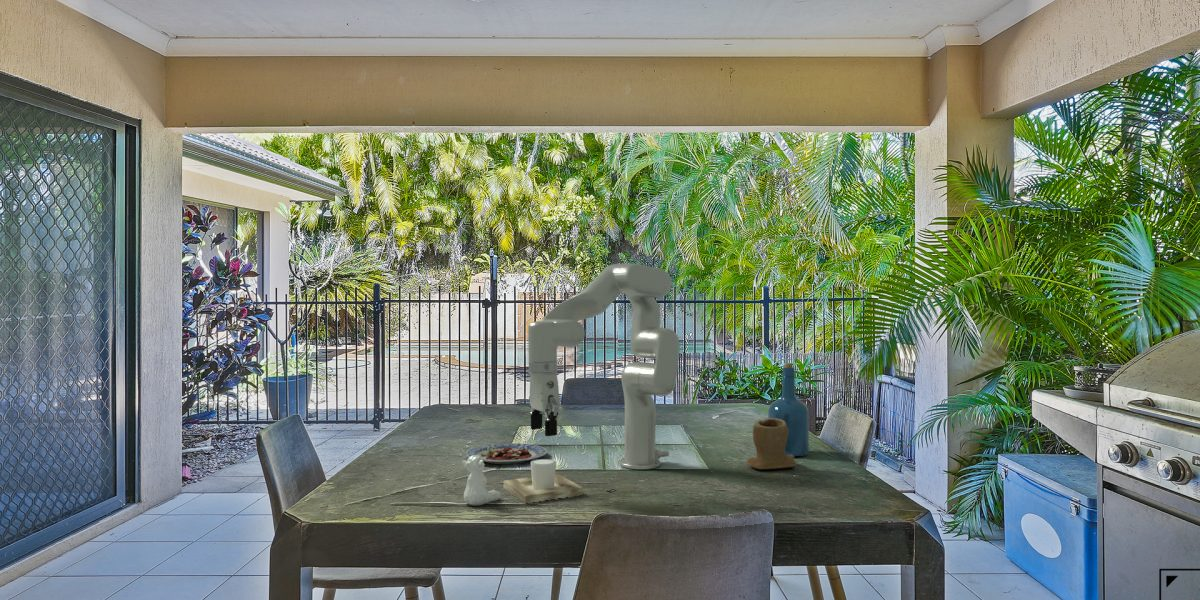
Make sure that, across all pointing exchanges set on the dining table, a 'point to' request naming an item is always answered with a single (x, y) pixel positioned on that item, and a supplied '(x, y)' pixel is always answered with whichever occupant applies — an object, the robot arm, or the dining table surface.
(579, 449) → the dining table surface
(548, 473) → the white cup
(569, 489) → the coaster board
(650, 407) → the robot arm
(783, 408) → the wine bottle
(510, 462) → the ceramic plate
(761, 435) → the stone cup
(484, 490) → the sitting furry creature
